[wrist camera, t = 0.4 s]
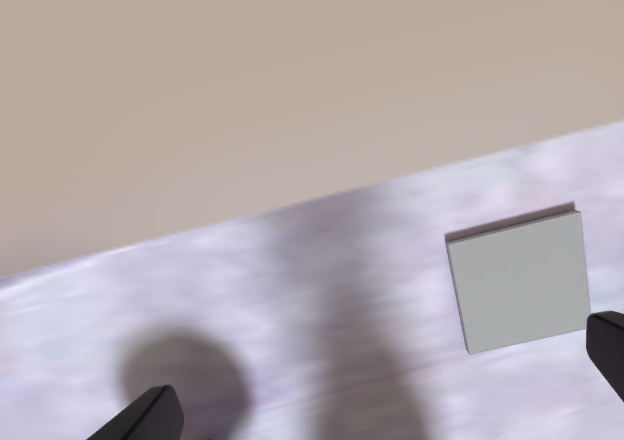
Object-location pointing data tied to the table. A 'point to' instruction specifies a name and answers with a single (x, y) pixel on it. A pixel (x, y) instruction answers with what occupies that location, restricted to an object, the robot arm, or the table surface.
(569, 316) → the mat
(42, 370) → the table surface
